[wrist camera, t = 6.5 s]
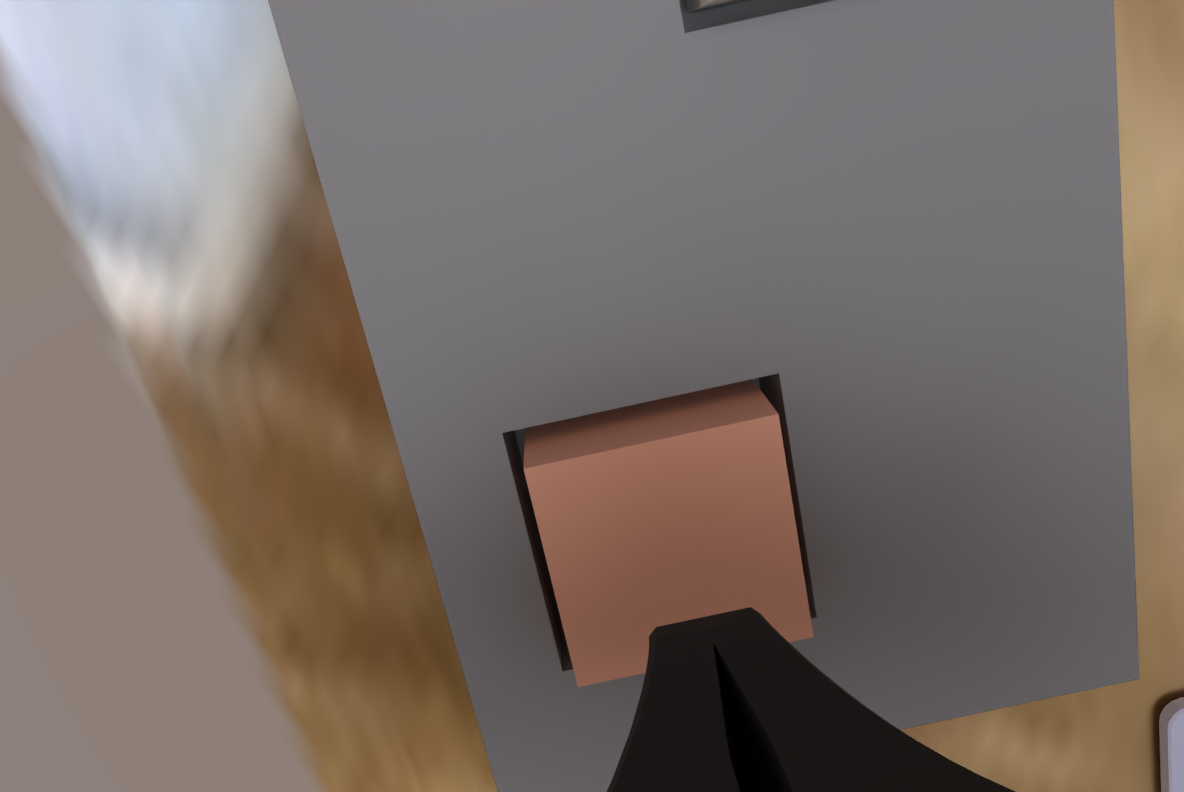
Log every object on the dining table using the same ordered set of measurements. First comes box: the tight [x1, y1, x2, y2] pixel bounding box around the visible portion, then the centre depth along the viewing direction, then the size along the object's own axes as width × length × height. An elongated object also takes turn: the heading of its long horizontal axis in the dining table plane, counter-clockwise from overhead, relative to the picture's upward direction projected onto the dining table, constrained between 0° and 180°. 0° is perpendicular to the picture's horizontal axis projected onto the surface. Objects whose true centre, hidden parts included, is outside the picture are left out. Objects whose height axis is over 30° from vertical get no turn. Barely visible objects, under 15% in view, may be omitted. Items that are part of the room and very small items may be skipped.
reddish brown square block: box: [524, 379, 814, 687], centre depth 17 cm, size 4×4×3 cm
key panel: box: [268, 0, 1139, 792], centre depth 16 cm, size 12×20×3 cm, turn 12°
